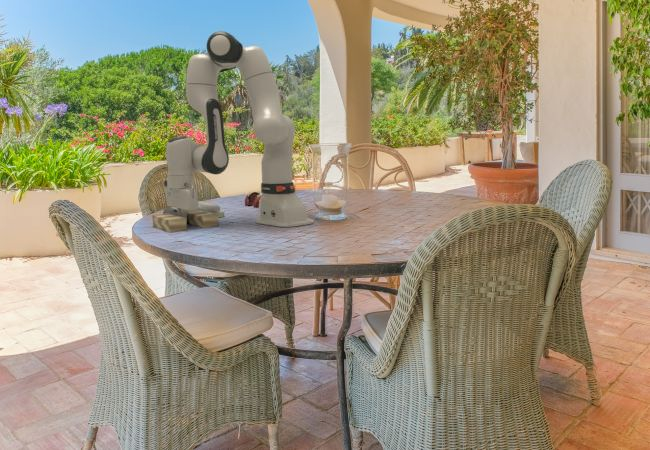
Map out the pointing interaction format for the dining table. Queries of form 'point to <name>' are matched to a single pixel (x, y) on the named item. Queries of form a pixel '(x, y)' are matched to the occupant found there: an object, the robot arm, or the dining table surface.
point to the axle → (172, 212)
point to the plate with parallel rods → (210, 208)
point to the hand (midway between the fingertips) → (183, 220)
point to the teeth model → (253, 199)
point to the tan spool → (180, 224)
